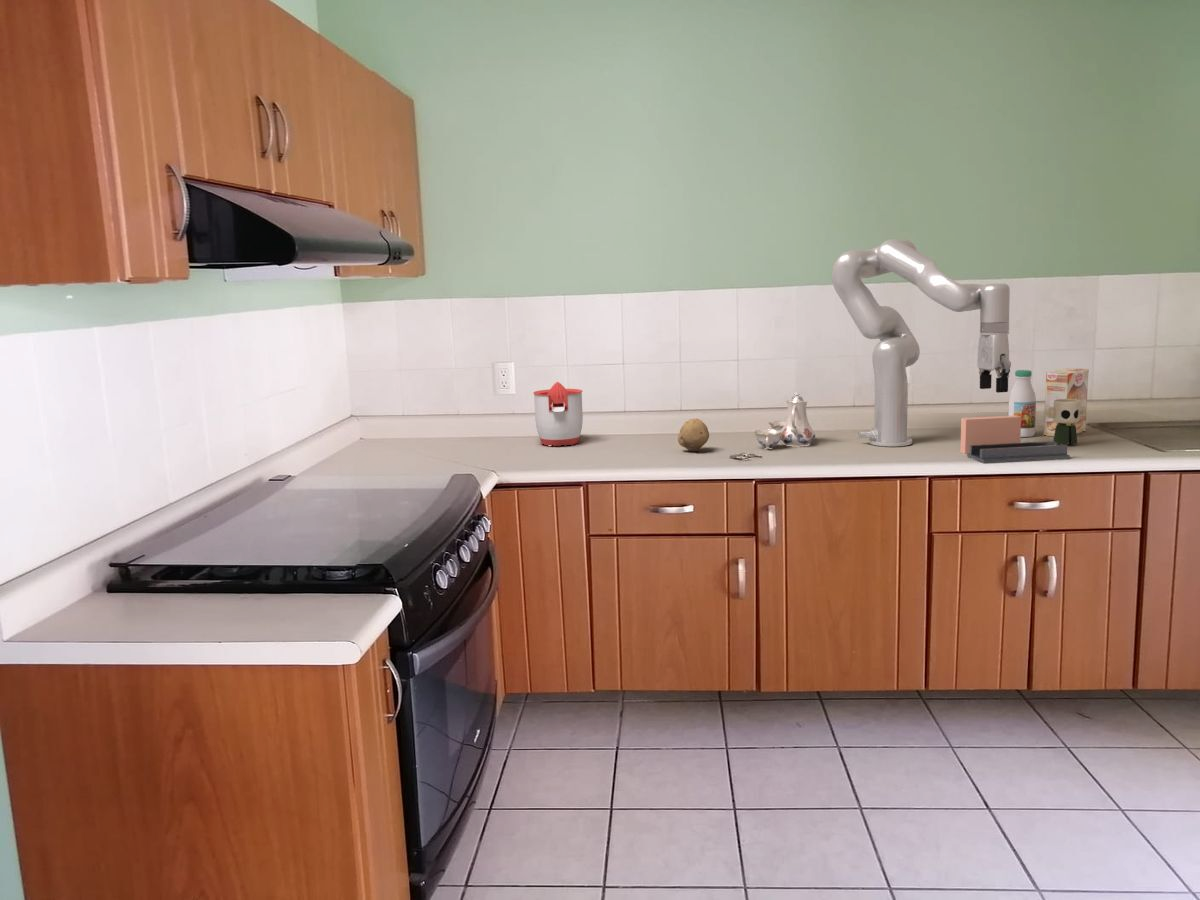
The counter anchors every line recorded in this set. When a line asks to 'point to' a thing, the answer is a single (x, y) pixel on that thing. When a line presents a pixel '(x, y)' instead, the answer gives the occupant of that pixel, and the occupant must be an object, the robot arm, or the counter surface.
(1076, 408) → the character mug
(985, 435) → the door panel
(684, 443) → the brown round lump
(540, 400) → the citrus juicer
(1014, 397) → the milk bottle
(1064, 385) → the coffeecake box
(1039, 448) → the door track
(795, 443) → the chinaware
